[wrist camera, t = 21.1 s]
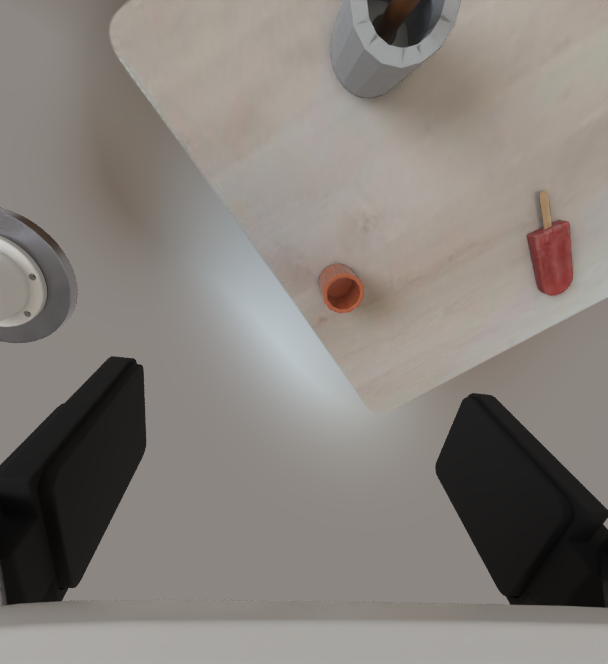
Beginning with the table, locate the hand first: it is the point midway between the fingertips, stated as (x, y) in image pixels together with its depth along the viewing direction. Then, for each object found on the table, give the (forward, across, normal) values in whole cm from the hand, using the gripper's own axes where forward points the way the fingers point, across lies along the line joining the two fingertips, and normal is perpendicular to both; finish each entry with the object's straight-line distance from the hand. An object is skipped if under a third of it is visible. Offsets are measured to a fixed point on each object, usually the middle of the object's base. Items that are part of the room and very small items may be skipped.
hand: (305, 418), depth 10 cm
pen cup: (+36, -8, +5) cm, 37 cm away
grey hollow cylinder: (+36, -6, -20) cm, 42 cm away
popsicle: (+36, -35, -4) cm, 51 cm away
